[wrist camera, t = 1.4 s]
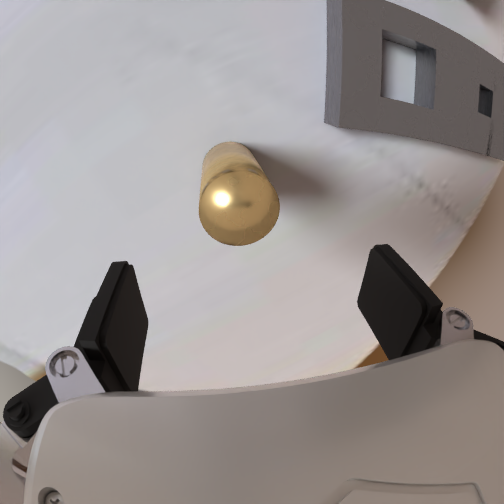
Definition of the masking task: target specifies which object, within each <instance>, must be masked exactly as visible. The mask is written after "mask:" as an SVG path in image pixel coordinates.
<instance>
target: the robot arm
mask: <svg viewBox="0 0 504 504" xmlns="http://www.w3.org/2000/svg"><path fill="white" fill-rule="evenodd" d="M357 303H358V307H359V309H360V311H361V313H362V314H363V316H364V318H365V319H366V321H367V323H368V324H369V326H370V328H371V329H372V331H373V333H374V335H375V336H376V338H377V340H378V342H379V343H380V345H381V347H382V349H383V350H384V352H385V354H386V356H387V358H388V359H389V361H385V362H382V363H377V364H374V365H369V366H365V367H361V368H357V369H352V370H348V371H343V372H338V373H333V374H328V375H323V376H318V377H312V378H306V379H300V380H294V381H287V382H280V383H273V384H265V385H256V386H247V387H237V388H225V389H210V390H189V391H138V386H139V379H140V372H141V365H142V359H143V353H144V347H145V341H146V335H147V330H148V318H147V314H146V311H145V307H144V304H143V301H142V297H141V294H140V290H139V286H138V283H137V279H136V275H135V271H134V267H133V265H129V264H128V262H127V261H121V262H112V264H111V266H110V268H109V270H108V272H107V274H106V276H105V278H104V281H103V283H102V285H101V287H100V289H99V292H98V294H97V296H96V297H95V298H94V299H93V300H92V303H91V305H90V307H89V310H88V312H87V314H86V317H85V319H84V322H83V324H82V327H81V329H80V332H79V334H78V337H77V339H76V342H75V345H74V347H70V346H67V347H62V348H59V349H57V350H56V351H54V352H53V353H52V354H51V355H50V356H49V358H48V360H47V362H46V367H45V369H46V374H47V375H45V376H44V377H42V378H41V379H39V380H38V381H36V382H35V383H33V384H32V385H30V386H29V387H27V388H26V389H24V390H23V391H21V392H20V393H19V394H17V395H15V396H14V397H12V398H11V399H10V400H9V401H8V402H7V404H6V405H5V408H4V412H3V413H4V414H3V418H4V421H3V423H1V422H0V504H504V342H503V341H500V340H498V339H496V338H493V337H491V336H488V335H486V334H483V333H481V332H478V331H476V330H473V322H472V320H471V318H470V317H469V315H468V314H467V313H465V312H464V311H463V310H460V309H458V308H454V307H449V308H446V309H445V310H444V311H443V312H442V311H441V310H440V309H441V307H442V305H443V303H442V302H441V301H440V300H439V298H438V297H437V296H436V295H435V294H434V293H433V291H432V290H431V289H430V288H429V287H428V286H427V285H426V283H425V282H424V281H423V280H422V279H421V278H420V277H419V276H418V275H417V274H416V272H415V271H414V270H413V269H412V268H411V267H410V266H409V265H408V264H407V263H406V262H405V261H404V260H403V259H402V258H401V257H400V255H399V254H398V253H397V252H396V251H395V250H394V249H393V248H392V247H391V246H390V245H388V244H382V245H375V246H374V248H373V249H371V250H370V254H369V258H368V262H367V266H366V270H365V274H364V278H363V282H362V285H361V289H360V293H359V296H358V300H357Z"/></svg>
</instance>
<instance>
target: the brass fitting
mask: <svg viewBox="0 0 504 504" xmlns="http://www.w3.org/2000/svg"><path fill="white" fill-rule="evenodd" d="M279 210H280V204H279V198H278V195H277V193H276V191H275V189H274V187H273V186H272V184H271V183H270V181H269V180H268V178H267V176H266V175H265V173H264V172H263V170H262V169H261V167H260V165H259V164H258V162H257V161H256V159H255V158H254V156H253V155H252V153H251V152H250V151H249V149H248V148H246V147H245V146H243V145H241V144H239V143H236V142H224V143H220V144H218V145H216V146H214V147H213V148H212V149H211V150H209V152H208V153H207V154H206V156H205V158H204V161H203V166H202V177H201V188H200V200H199V217H200V221H201V223H202V226H203V227H204V229H205V231H206V232H207V233H208V234H209V235H210V236H211V237H212V238H214V239H215V240H217V241H219V242H221V243H224V244H227V245H233V246H242V245H248V244H251V243H254V242H256V241H258V240H260V239H262V238H263V237H264V236H266V235H267V234H268V233H269V232H270V231H271V230H272V228H273V227H274V225H275V223H276V221H277V219H278V216H279Z"/></svg>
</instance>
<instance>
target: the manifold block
mask: <svg viewBox="0 0 504 504" xmlns="http://www.w3.org/2000/svg"><path fill="white" fill-rule="evenodd" d="M382 38H383V39H386V40H389V41H392V42H395V43H398V44H401V45H404V46H407V47H410V48H413V49H415V50H416V81H415V97H414V104H411V103H407V102H403V101H398V100H394V99H390V98H385V97H380V94H381V75H382ZM324 123H327V124H330V125H333V126H336V127H339V128H349V129H358V130H366V131H374V132H381V133H388V134H394V135H401V136H406V137H412V138H417V139H422V140H427V141H432V142H437V143H441V144H446V145H450V146H454V147H458V148H462V149H466V150H469V151H473V152H477V153H480V154H484V155H487V156H490V157H493V158H497V159H500V160H503V161H504V63H502V62H501V61H500V60H498V59H497V58H496V57H494V56H493V55H491V54H490V53H488V52H487V51H485V50H484V49H482V48H481V47H479V46H478V45H476V44H475V43H473V42H471V41H470V40H468V39H466V38H465V37H463V36H461V35H460V34H458V33H456V32H454V31H452V30H451V29H449V28H447V27H445V26H443V25H441V24H439V23H437V22H435V21H433V20H431V19H429V18H427V17H425V16H422V15H420V14H418V13H416V12H413V11H411V10H409V9H406V8H404V7H401V6H399V5H396V4H393V3H391V2H388V1H385V0H327V75H326V100H325V119H324Z"/></svg>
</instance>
